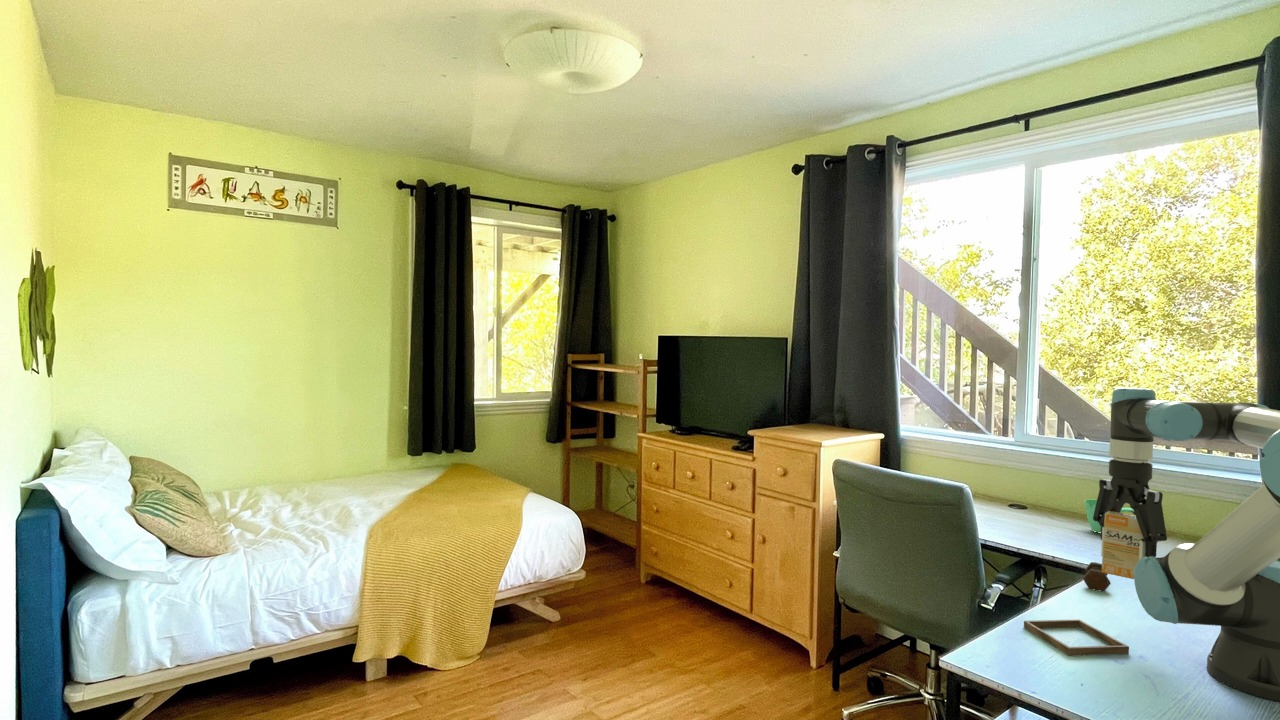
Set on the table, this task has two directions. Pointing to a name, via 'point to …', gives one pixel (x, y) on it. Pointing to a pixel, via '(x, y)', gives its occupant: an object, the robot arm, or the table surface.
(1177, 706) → the table surface
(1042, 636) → the frame
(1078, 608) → the table surface
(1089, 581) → the bolt
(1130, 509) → the mug
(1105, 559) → the supplement box
